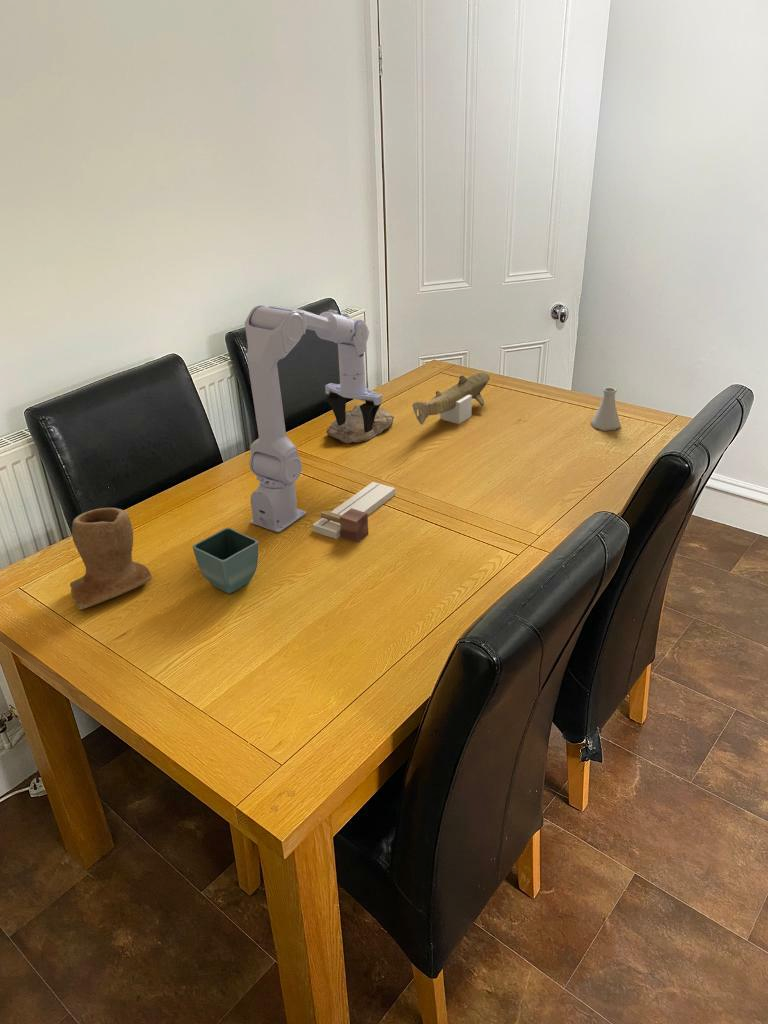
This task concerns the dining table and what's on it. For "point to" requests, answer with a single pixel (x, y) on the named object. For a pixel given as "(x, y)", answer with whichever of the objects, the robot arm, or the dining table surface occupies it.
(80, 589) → the stone cup
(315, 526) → the board
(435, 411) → the wood carving
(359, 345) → the robot arm
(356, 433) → the grey brown rock
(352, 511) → the chocolate popsicle
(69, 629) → the dining table surface
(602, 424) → the flask
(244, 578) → the flower pot
